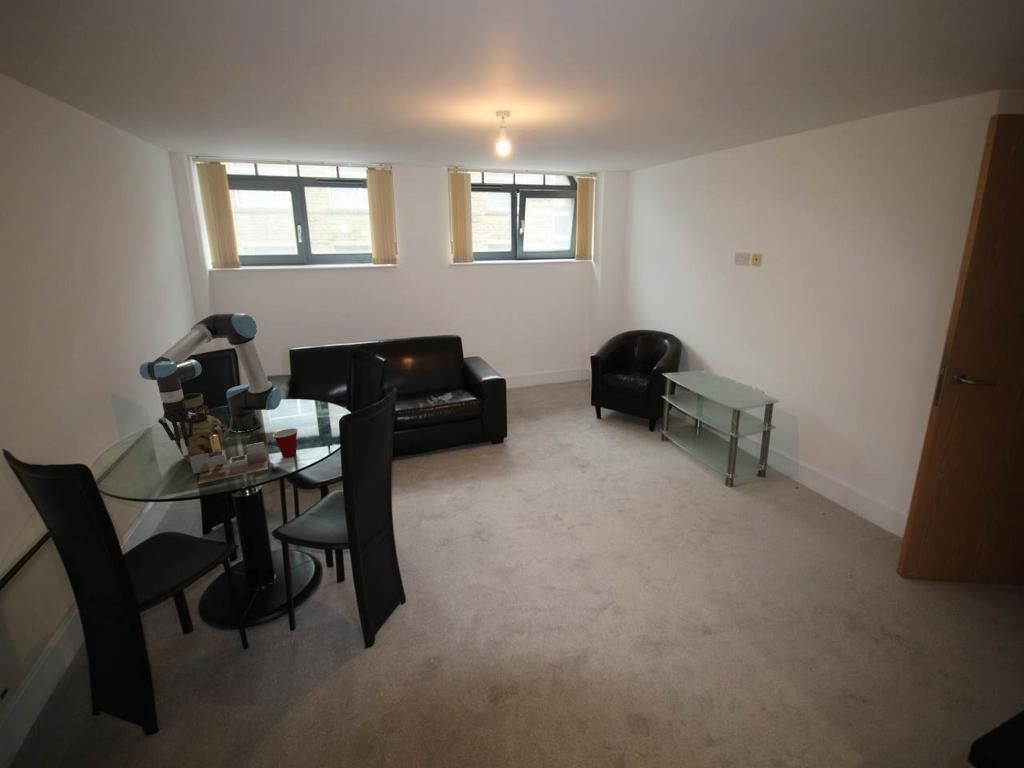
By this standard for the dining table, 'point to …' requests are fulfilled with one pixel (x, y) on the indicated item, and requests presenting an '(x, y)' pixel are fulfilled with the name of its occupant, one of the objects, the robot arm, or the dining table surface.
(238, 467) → the fixed leaf
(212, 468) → the board
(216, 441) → the pin
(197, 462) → the flanged square frame
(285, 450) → the plastic cup
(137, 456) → the dining table surface
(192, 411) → the ceramic vessel
